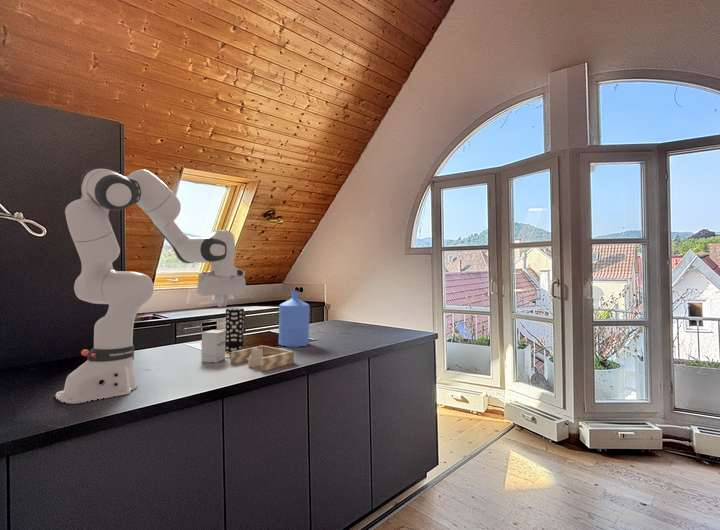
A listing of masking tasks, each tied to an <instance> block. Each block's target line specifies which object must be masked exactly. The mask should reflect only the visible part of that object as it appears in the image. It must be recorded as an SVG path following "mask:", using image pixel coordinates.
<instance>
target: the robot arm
mask: <svg viewBox="0 0 720 530" xmlns="http://www.w3.org/2000/svg"><path fill="white" fill-rule="evenodd" d="M77 195H78V197H79V199H75V200H73V201H71V202H70V203H68V204H67V206H66V207H65V210H64V215H65V219H66V223H67V228H68V231H69V234H70V236H71V238H72V242H73V244H74V246H75V249H76V252H77V254H78V256H79V259H80V263H81V271H80V274H79V275H78V276H77V278H76V279H75V281H74V285H73V290H74V294H75V296H76V297H77V298H78V299H79V300H81V301H83V302H87V303H90V304H98V305H108V309H107V312H106V314H105V315H104V316H102V317H100V318H99V319H98V320H97V321H96V322H95V324H94V326H93V347H92V348H91V349H82V350H81V351H80V354H81V355H82V356H83V357H87V358H86V359H87V360H86V361H85V362H84V363H82V364H81V365H79V366H78V367H77V368H76V369H74V370H73V371H72V372H71V373H69V374H68V375H67V377H66V379H65V383H64V388H63V390H60V391H57V392H56V393H55V395H54V396H55V397H56V398H55V399H56V400H57V399H58V400H57V401H59V400H60V401H59V402H61V403H64V402H65V404H71V405H72V404H73V405H74V404H81V403H87V401H88V402H92V401H91V400H93V401H97V399H99V400H102V399H103V398H104V399H110V398H114V396H115V397H119V396H125V395H128V394H131V392H132V391H133V390H135V389H137V388H138V383H137V380H136V376H135V375H136V374H135V369H134V359H135V345H134V344H133V342H134V341H133V337H134V324H135V320H136V317H137V314H138V312H139V310H140V309H141V307H143V305H145V304H146V303H147V302H149V300H150V299H151V298H152V296H153V293H154V290H155V288H154V287H155V286H154V282H153V280H152V278H151V277H150V276H149V275H147V274H144V273H141V272H137V271H128V270H126V271H125V270H124V271H122V270H119V271H118V270H115V269H114V267H113V262H115V261H116V260H117V259H118V258H119V256H120V253H121V248H120V245H119V243H118V240H117V237H116V235H115V232H114V230H113V229H114V228H113V227H112V224H111V222H110V217H109V213H110V211H122V210H125V209H127V208H130V207H131V206H132V205H134V204H136V205H137V206H138V207H139V208H140V209H141V210H142V211H143V212H144V213H145V214H146V215H147V216H148V218H150V220H151V221H150V222H152V224H153V226H154V227H155V228H156V230H157V231H158V232H159V233H160V234H161V235H162V237H163V238H164V239H165V240H166V241H167V243H169V245H170V246H171V247H172V249H173V251H174V253H175V256H176V257H177V259H178V260H179V261H180V262H182V263H184V264H193V263H196V264H197V263H210V271H209V270H208V271H206V270H204V271H201V272H200V273H199V274H198V281H197V282H198V283H197V288H196V293H197V294H198V296H201V297H203V296H204V297H205V296H206V297H207V296H214V299H215V301H216V305H217V307H219V308H223V307H227V302H228V300H229V298H230V295H234V296H235V295H244V294H245V293H246V287H247V285H246V278H245V274H246V271H244V270H243V269H240V268H238V267H236V266H235V260H234V259H235V255H236V241H235V235H234V233H233V232H231V231H228V230H225V229H214V231H213V232H212V233H210V234H208V235H205V236H201V237H200V236H199V237H193V236H189V235H186V234H184V232H183V231H182V229H181V228H180V227H179V226H178V224H176V222H175V220H176V219H177V217H178V216H179V215H180V213H181V207H182V205H181V201H180V200H179V198H178V197H177V195H176V194H175V193H174V192H173V191H172V190H171V189H170V188H169V187H168V185H166V184H165V183H164V181H162V180H161V179H160V178H159V177H157V176H156V175H155V174H154V173H152V172H151V171H150V170H147V169H138V170H134V171H132V172H131V173H130V174H129V175H126V176H125V175H122V174H119V172H116V171H115V170H111V169H109V168H104V167H99V166H98V167H92V168H89V169H88V170H86V171H85V172H84V173H83V175H82V176H81V178H80V184H79V188H78V194H77ZM221 298H223V299H222V300H221ZM131 390H132V391H131Z"/></svg>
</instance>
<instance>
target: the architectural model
mask: <svg viewBox="0 0 720 530" xmlns="http://www.w3.org/2000/svg"><path fill="white" fill-rule="evenodd" d="M261 358H264V357H263V348H262V349H255V350H251V355H250V356H249V355H248V358H247V359H248V361H247V367H248V368H250V367H252V368H256V367H255V366H257V367H260V361H261Z"/></svg>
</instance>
